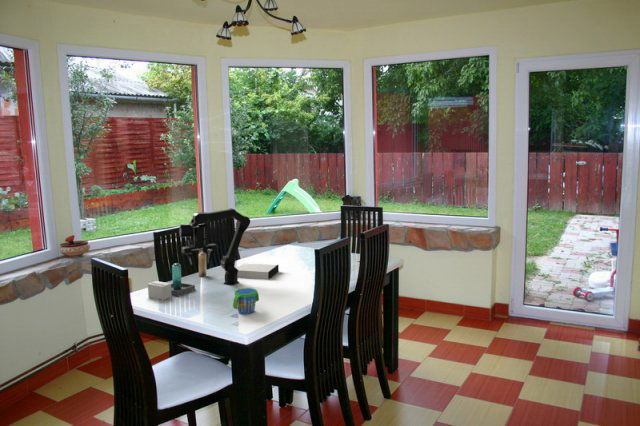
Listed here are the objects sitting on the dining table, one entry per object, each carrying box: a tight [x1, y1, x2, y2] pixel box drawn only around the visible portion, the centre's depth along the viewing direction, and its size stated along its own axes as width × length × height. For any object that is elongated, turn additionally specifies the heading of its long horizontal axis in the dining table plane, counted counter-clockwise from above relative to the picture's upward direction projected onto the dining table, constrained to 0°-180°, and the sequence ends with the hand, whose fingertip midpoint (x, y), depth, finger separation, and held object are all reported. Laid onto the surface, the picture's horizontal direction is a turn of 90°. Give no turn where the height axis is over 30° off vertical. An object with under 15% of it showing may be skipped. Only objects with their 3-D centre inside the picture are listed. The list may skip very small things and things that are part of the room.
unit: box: [147, 280, 173, 301], centre depth 263 cm, size 10×6×7 cm, turn 63°
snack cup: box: [232, 287, 260, 315], centre depth 240 cm, size 16×10×10 cm
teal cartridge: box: [171, 262, 182, 290], centre depth 272 cm, size 4×4×14 cm
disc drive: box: [235, 262, 280, 280], centre depth 307 cm, size 18×22×5 cm
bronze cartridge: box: [198, 251, 207, 278], centre depth 303 cm, size 4×4×14 cm
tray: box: [171, 282, 196, 297], centre depth 273 cm, size 13×13×3 cm
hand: (200, 264), depth 279 cm, fingers open, 9 cm apart
